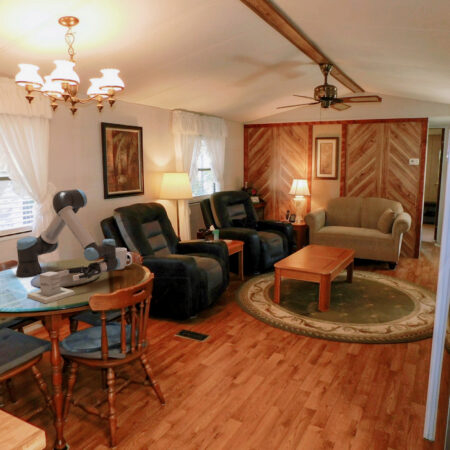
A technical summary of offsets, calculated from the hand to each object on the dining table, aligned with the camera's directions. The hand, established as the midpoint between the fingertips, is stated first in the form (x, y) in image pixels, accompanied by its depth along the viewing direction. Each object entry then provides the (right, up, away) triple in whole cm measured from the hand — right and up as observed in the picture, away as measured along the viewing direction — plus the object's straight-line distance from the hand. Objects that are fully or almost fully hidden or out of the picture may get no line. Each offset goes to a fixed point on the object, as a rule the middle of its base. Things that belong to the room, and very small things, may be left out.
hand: (65, 276), depth 233 cm
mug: (+18, -1, +49) cm, 52 cm away
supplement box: (-5, -10, -6) cm, 13 cm away
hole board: (-5, -10, -6) cm, 13 cm away
